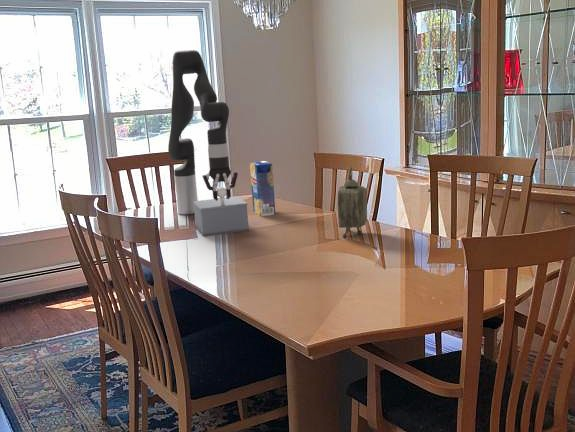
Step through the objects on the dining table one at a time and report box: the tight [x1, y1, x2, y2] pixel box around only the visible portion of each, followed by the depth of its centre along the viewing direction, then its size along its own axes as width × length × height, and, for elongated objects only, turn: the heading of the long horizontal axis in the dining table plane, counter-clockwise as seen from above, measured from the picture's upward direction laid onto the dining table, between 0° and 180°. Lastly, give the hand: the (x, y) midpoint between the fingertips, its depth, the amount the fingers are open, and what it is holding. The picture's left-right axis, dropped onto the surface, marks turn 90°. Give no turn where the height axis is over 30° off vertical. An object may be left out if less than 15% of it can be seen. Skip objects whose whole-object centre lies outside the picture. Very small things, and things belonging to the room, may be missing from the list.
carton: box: [194, 204, 250, 237], centre depth 258 cm, size 16×18×10 cm
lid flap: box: [193, 186, 248, 211], centre depth 256 cm, size 16×18×8 cm
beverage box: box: [249, 160, 276, 217], centre depth 281 cm, size 7×11×22 cm, turn 18°
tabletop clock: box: [337, 166, 368, 239], centre depth 235 cm, size 14×9×25 cm, turn 168°
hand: (222, 199), depth 251 cm, fingers closed on lid flap, 4 cm apart
